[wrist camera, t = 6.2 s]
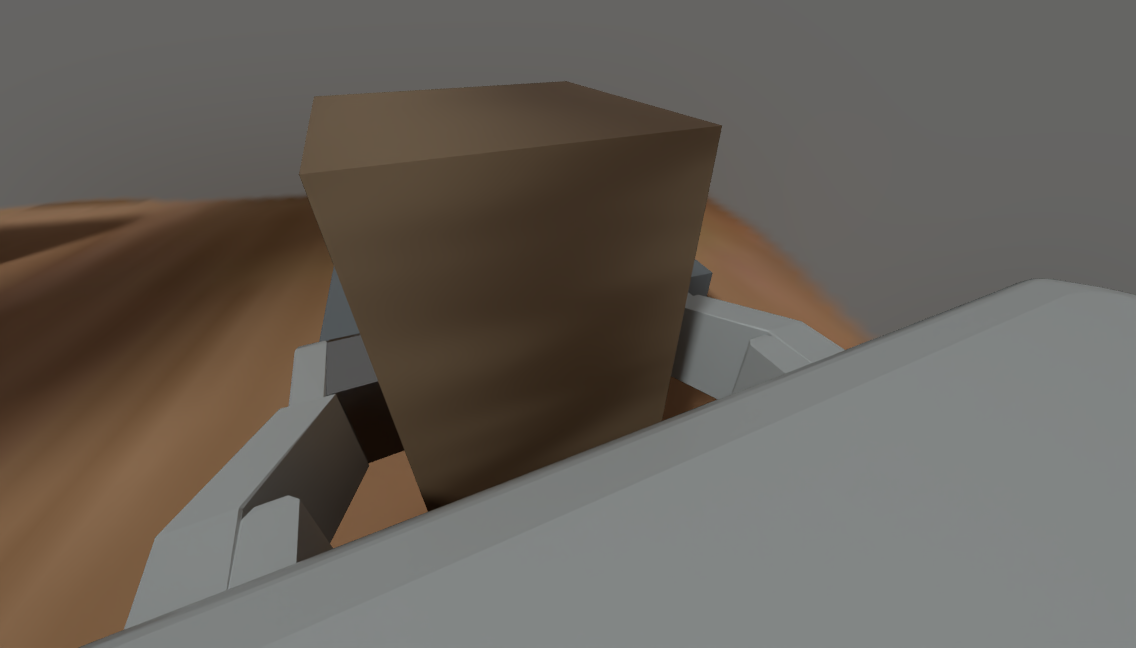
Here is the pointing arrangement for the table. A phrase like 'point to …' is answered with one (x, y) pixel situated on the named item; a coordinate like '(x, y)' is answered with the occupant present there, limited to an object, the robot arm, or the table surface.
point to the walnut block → (510, 264)
